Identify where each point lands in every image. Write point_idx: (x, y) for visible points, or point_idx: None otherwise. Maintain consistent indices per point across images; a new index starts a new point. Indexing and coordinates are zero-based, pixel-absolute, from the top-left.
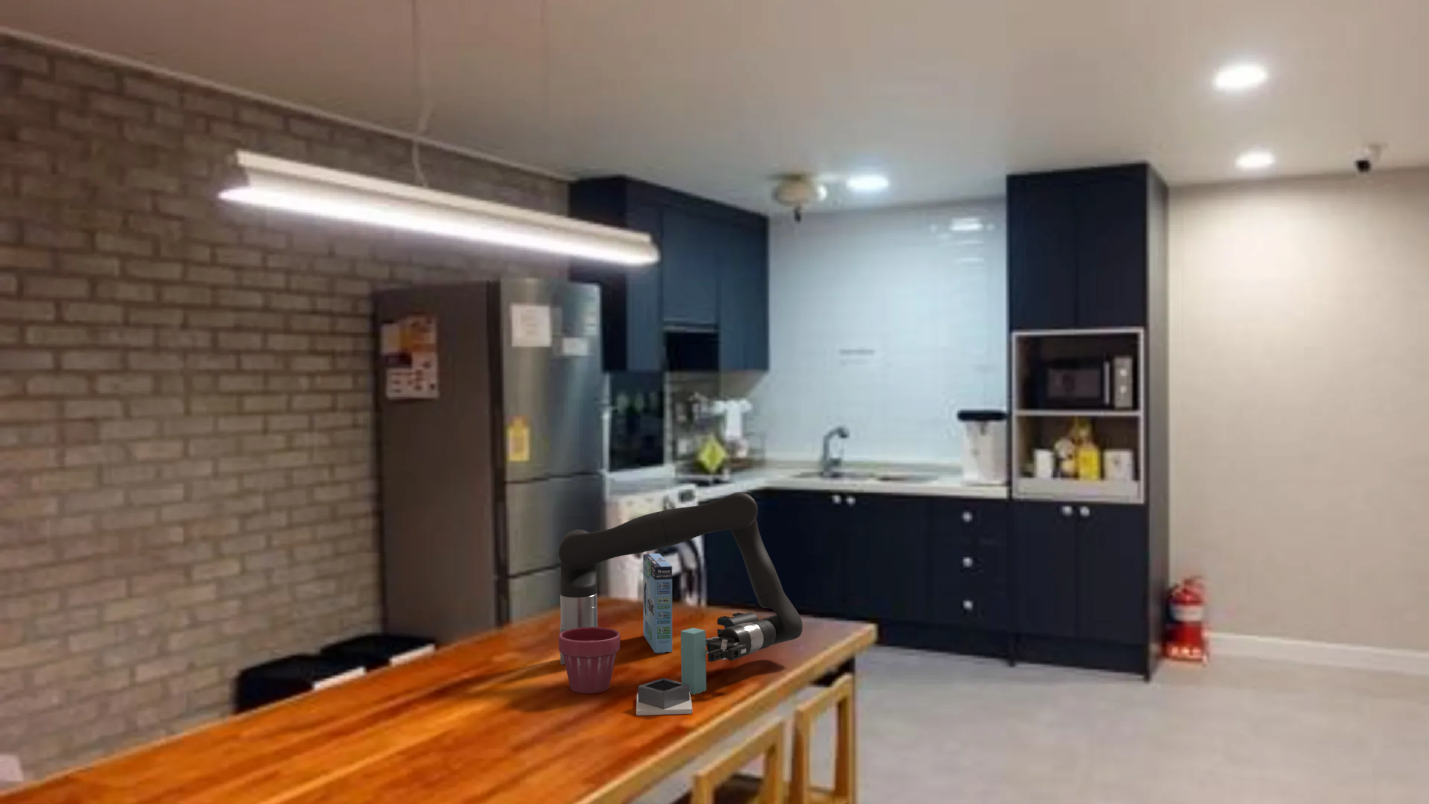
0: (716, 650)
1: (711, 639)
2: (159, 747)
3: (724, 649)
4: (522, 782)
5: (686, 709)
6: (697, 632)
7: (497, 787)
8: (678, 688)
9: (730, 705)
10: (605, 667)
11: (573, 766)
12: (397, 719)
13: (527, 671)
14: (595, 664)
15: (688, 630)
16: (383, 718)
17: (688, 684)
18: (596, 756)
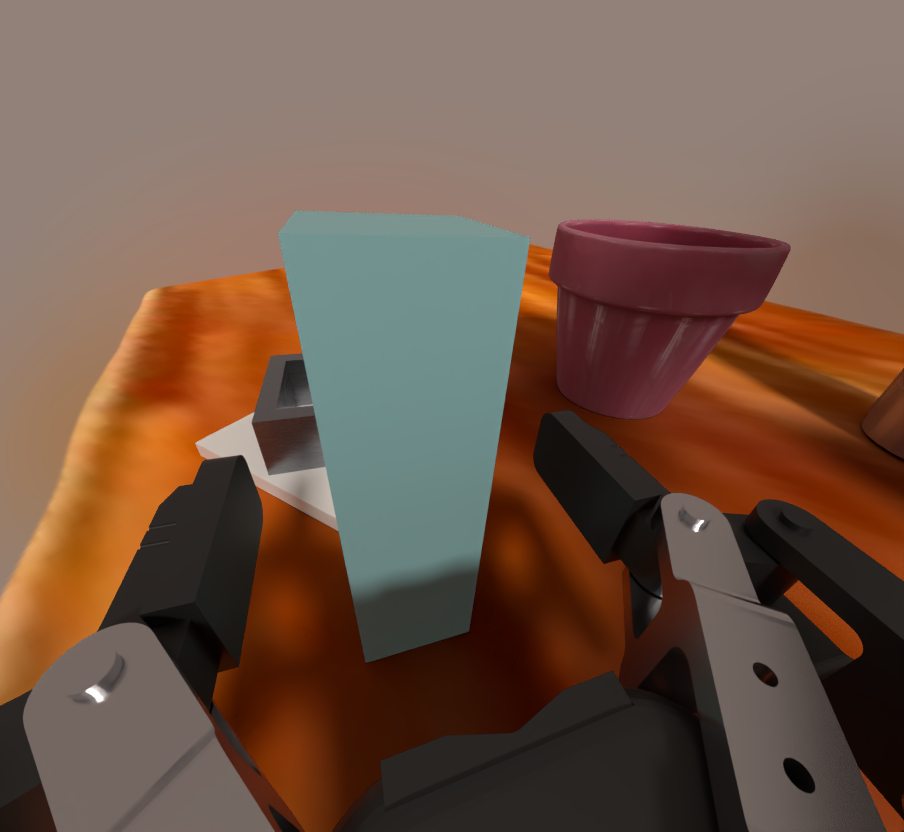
0: (188, 539)
1: (745, 801)
2: (536, 246)
3: (53, 665)
4: (264, 277)
5: (215, 433)
6: (298, 216)
7: (277, 272)
8: (261, 388)
9: (52, 625)
10: (566, 330)
11: (244, 296)
12: (535, 279)
13: (776, 367)
14: (557, 304)
15: (439, 221)
16: (545, 277)
17: (257, 422)
18: (240, 309)
